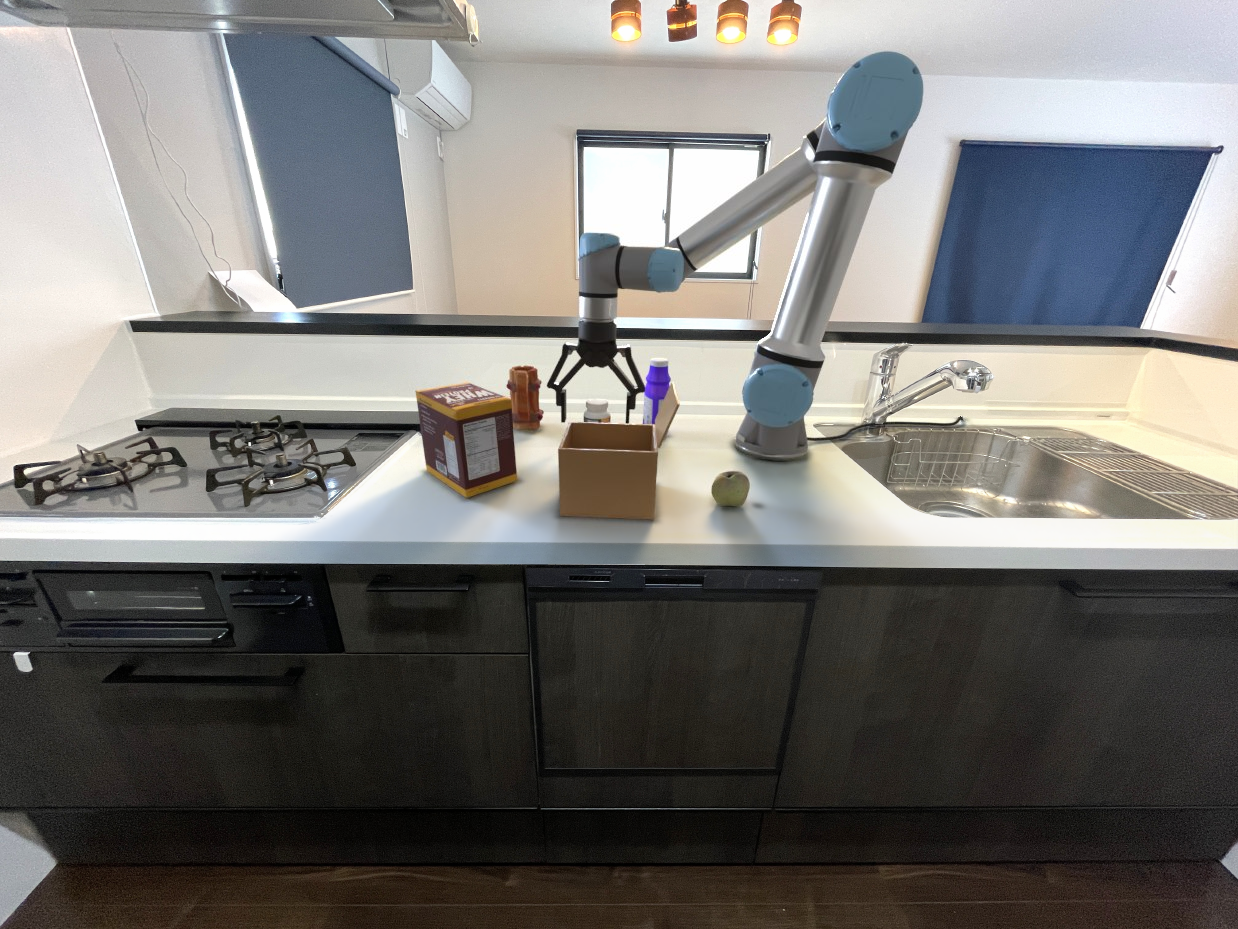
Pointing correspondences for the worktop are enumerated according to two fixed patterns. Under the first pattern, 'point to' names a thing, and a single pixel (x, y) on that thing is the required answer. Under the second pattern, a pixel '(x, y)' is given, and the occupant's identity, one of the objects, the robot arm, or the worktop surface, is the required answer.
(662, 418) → the flap
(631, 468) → the carton
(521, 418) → the mug
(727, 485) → the apple
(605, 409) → the pill bottle
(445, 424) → the supplement box
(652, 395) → the bottle
